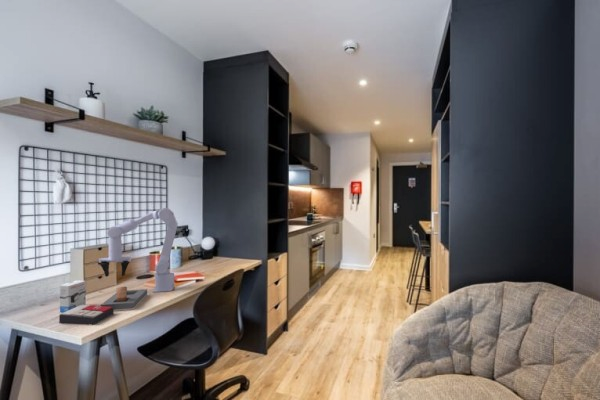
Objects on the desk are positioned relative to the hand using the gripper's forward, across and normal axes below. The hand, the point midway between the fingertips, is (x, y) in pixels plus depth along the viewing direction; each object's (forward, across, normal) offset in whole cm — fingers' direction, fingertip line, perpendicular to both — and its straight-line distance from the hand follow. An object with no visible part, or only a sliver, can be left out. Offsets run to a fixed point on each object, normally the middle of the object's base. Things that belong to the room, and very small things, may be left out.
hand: (115, 275), depth 153 cm
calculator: (+10, -1, +32) cm, 33 cm away
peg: (+9, -10, +20) cm, 24 cm away
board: (+9, -10, +15) cm, 20 cm away
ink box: (+10, +10, +19) cm, 24 cm away
